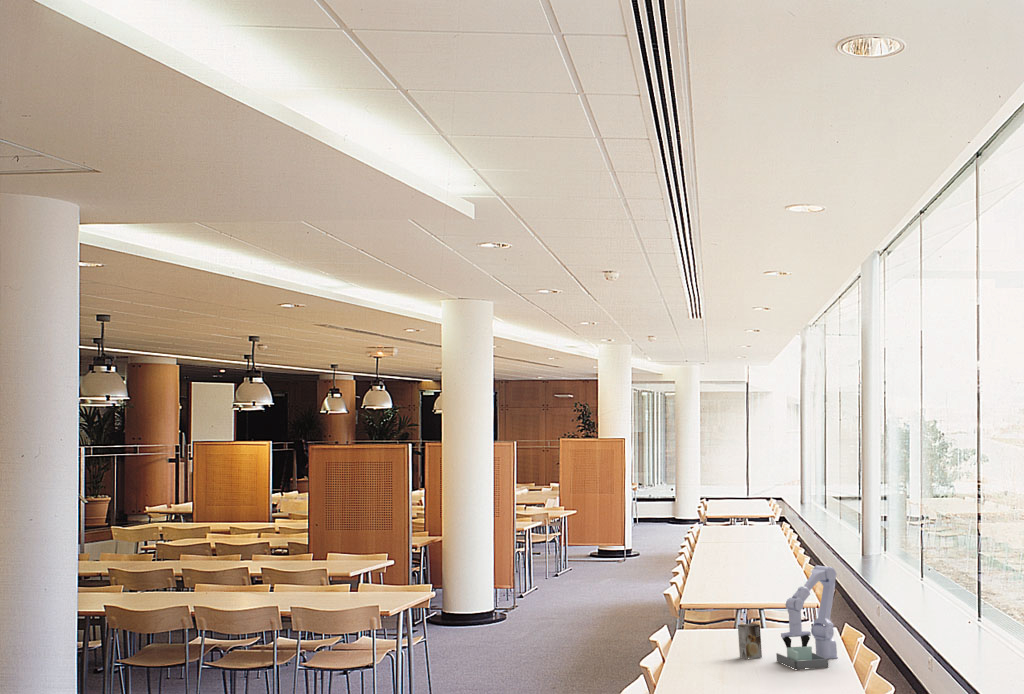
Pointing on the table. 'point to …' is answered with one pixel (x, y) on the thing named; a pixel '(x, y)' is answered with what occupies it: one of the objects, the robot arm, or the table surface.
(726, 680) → the table surface
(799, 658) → the l-shaped corner panel
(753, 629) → the coffee box
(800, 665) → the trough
